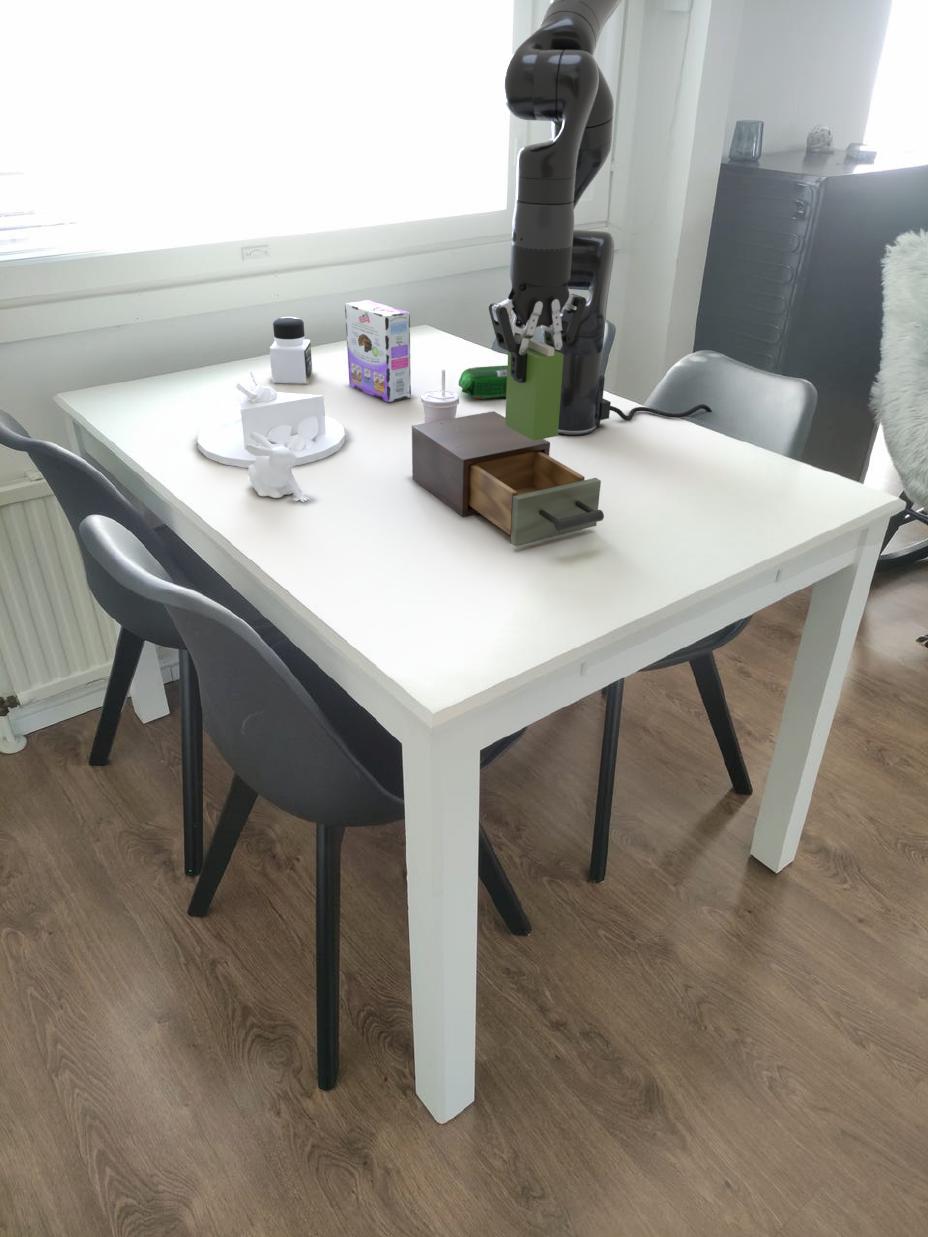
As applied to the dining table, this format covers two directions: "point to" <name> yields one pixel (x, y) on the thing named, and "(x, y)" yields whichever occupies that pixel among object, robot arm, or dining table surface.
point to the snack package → (484, 382)
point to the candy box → (378, 350)
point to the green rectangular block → (536, 393)
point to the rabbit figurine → (273, 469)
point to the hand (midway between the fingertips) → (534, 378)
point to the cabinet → (463, 453)
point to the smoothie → (439, 404)
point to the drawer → (533, 496)
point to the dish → (273, 427)
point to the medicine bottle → (290, 352)
